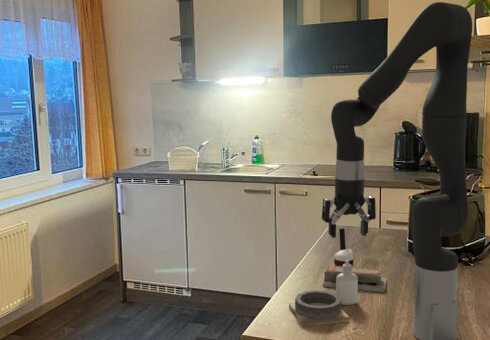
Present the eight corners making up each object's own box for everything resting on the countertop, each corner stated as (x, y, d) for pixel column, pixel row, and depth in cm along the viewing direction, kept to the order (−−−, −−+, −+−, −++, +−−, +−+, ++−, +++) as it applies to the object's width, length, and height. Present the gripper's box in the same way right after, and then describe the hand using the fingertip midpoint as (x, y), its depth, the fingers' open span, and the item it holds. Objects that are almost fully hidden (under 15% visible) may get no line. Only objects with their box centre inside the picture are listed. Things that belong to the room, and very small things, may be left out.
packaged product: (322, 272, 156) (327, 261, 166) (322, 288, 157) (327, 276, 166) (385, 277, 151) (387, 266, 160) (385, 294, 151) (386, 281, 161)
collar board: (349, 321, 133) (349, 305, 133) (303, 326, 131) (303, 310, 130) (331, 302, 145) (331, 288, 144) (289, 307, 142) (289, 292, 142)
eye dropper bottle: (355, 307, 142) (355, 264, 140) (334, 304, 144) (334, 261, 142) (358, 301, 145) (359, 259, 144) (338, 298, 148) (338, 256, 146)
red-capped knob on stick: (350, 275, 167) (351, 238, 164) (330, 272, 169) (331, 236, 167) (356, 264, 175) (358, 230, 173) (337, 261, 178) (338, 227, 175)
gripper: (328, 180, 134) (327, 242, 137) (381, 177, 137) (379, 238, 140) (319, 175, 142) (318, 233, 144) (369, 172, 144) (367, 230, 147)
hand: (348, 236), depth 142 cm, fingers open, 8 cm apart
